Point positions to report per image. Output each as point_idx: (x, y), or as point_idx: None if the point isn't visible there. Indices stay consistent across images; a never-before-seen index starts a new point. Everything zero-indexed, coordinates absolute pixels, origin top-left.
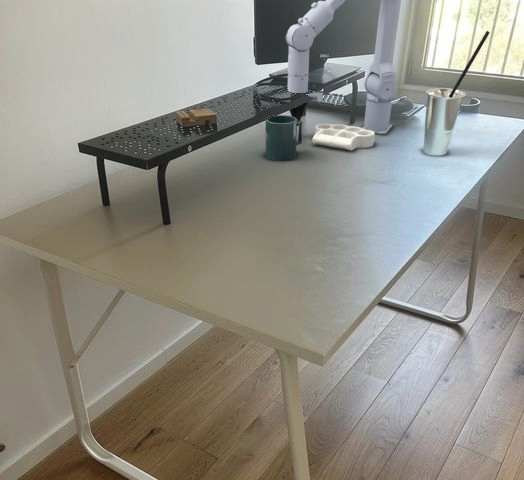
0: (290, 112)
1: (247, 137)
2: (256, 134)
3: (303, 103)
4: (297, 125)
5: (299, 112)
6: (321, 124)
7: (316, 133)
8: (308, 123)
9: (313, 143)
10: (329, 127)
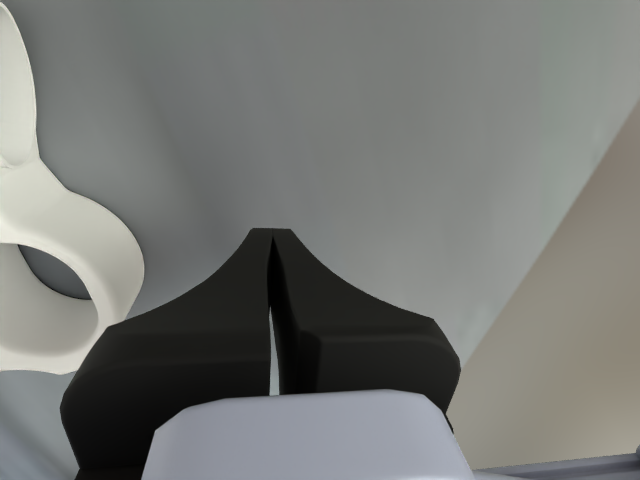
0: (337, 276)
1: (599, 98)
2: (537, 183)
3: (75, 381)
4: (250, 230)
5: (206, 282)
6: (86, 344)
7: (82, 223)
8: None
9: (22, 40)
10: (15, 333)
